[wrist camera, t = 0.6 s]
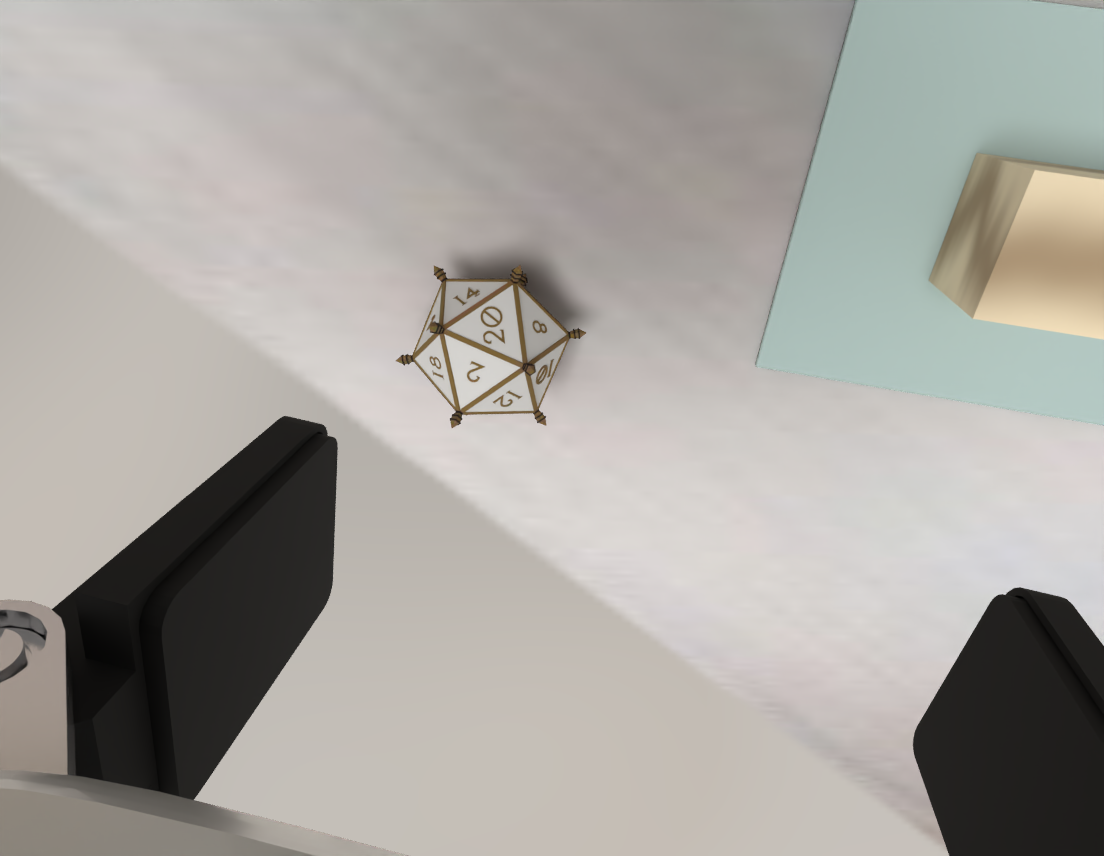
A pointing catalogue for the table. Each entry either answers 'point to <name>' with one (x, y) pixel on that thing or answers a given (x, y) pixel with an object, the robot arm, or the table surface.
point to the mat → (936, 201)
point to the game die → (490, 346)
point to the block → (1027, 246)
